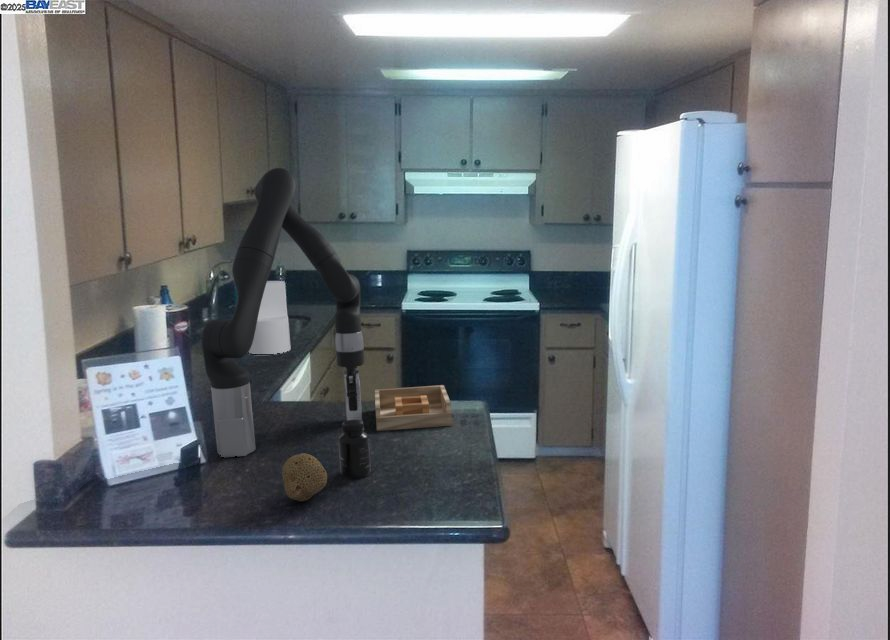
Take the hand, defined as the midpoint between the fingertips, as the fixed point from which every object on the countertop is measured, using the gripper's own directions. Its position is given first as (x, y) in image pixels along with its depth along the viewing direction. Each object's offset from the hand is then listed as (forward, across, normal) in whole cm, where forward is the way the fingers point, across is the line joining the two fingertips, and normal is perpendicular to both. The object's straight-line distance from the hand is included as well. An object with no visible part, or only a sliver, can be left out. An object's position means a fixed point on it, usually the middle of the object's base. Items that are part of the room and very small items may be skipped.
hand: (353, 406), depth 208 cm
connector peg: (+4, 0, 0) cm, 4 cm away
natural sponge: (+4, -53, +9) cm, 54 cm away
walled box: (+4, 0, -16) cm, 17 cm away
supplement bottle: (+4, -40, -1) cm, 40 cm away
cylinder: (+4, +108, +37) cm, 114 cm away
